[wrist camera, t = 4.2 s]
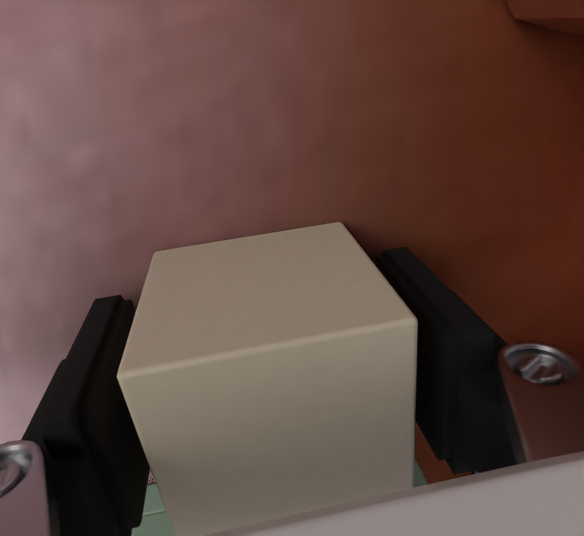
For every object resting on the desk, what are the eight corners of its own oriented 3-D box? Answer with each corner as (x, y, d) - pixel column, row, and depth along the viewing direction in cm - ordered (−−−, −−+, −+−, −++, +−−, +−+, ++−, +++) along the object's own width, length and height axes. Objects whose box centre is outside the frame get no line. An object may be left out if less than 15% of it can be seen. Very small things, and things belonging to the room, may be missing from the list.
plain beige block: (341, 219, 11) (421, 318, 7) (350, 366, 13) (415, 511, 9) (152, 250, 10) (112, 376, 6) (193, 397, 12) (182, 565, 8)
